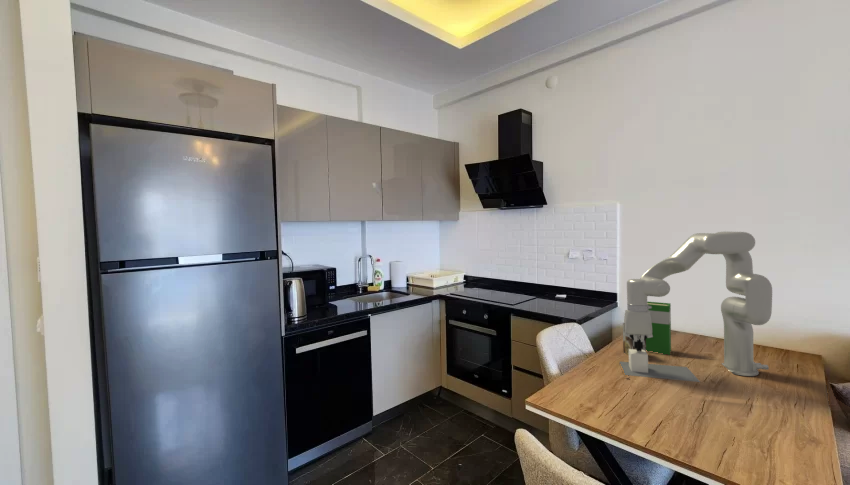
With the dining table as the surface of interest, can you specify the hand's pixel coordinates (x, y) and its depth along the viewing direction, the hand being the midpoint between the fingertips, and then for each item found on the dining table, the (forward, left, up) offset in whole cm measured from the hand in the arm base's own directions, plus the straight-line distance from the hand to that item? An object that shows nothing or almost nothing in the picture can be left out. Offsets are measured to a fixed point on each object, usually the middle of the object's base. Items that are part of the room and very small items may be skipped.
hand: (638, 350), depth 156 cm
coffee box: (-2, -19, -10) cm, 21 cm away
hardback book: (-11, -33, -10) cm, 37 cm away
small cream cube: (0, 0, -8) cm, 8 cm away
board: (-7, 0, -10) cm, 12 cm away
